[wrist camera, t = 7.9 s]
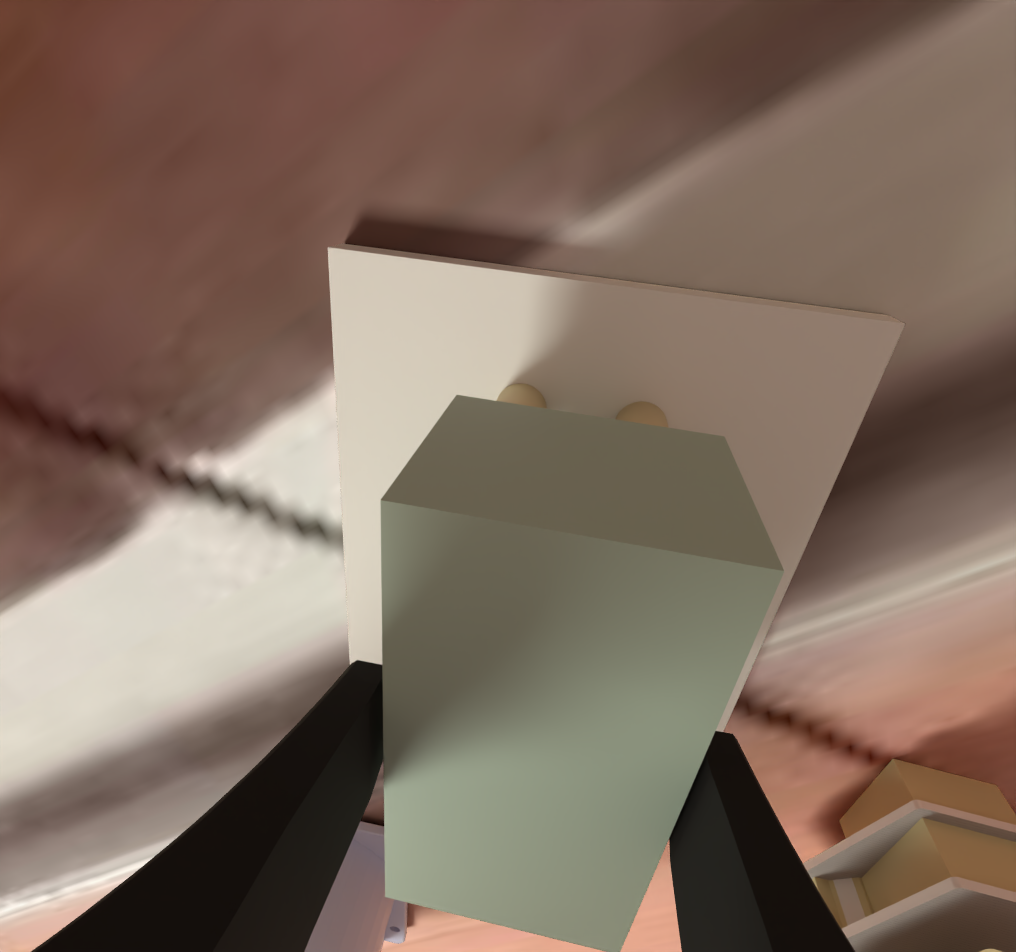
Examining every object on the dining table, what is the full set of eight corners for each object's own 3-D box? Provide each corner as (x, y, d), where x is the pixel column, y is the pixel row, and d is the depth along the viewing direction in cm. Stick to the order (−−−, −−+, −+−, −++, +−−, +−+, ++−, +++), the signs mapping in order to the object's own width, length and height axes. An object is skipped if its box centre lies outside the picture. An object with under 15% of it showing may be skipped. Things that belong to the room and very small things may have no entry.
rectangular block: (616, 773, 15) (618, 955, 11) (436, 734, 15) (385, 896, 12) (724, 436, 10) (784, 571, 7) (456, 395, 11) (380, 499, 7)
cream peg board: (706, 739, 18) (724, 842, 16) (360, 670, 20) (317, 755, 17) (887, 314, 12) (979, 359, 9) (342, 243, 13) (266, 262, 10)
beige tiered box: (818, 685, 17) (901, 882, 12) (1114, 760, 17) (1317, 994, 12) (703, 852, 22) (730, 1040, 17) (929, 913, 22) (1021, 1123, 17)
